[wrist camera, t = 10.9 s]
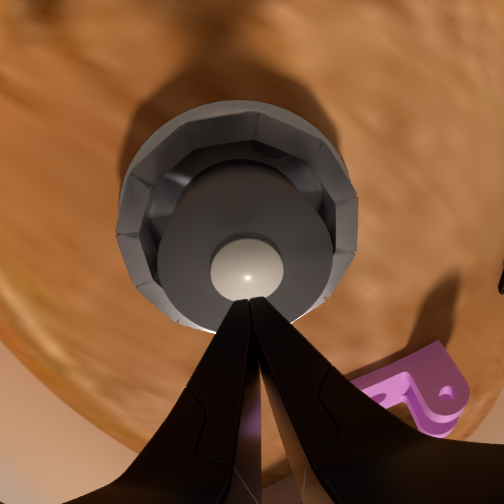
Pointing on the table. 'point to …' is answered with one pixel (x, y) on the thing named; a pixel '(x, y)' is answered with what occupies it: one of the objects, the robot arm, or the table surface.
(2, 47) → the table surface
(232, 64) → the table surface
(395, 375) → the bracket
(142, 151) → the shallow metal dish
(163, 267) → the cap
